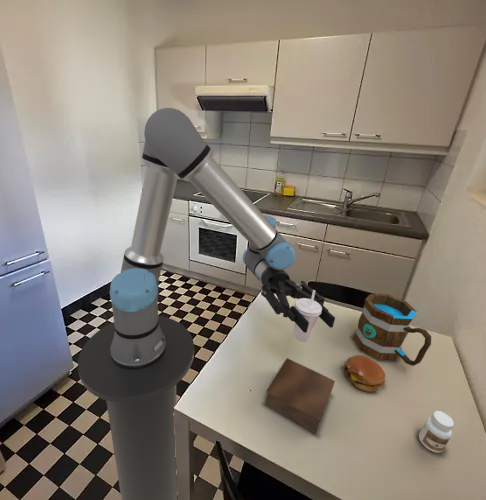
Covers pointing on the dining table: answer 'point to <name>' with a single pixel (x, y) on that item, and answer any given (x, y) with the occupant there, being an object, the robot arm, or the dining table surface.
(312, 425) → the walnut box
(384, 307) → the mug
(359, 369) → the burger
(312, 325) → the smoothie
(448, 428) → the pill bottle
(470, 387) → the dining table surface
